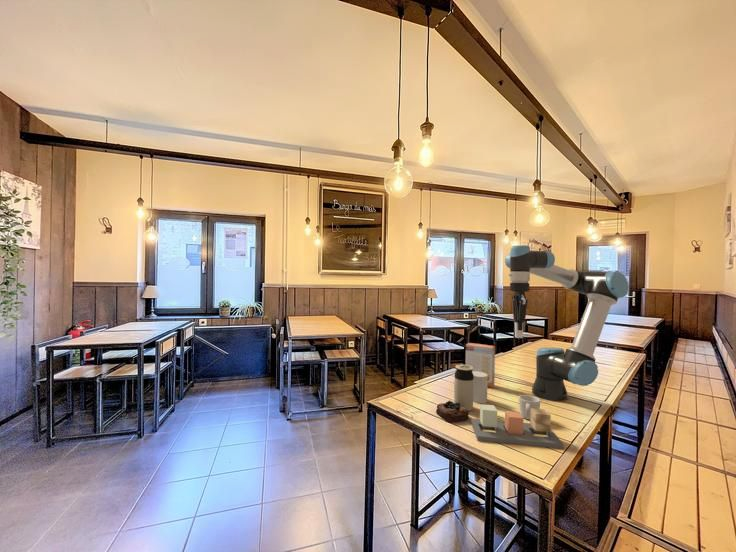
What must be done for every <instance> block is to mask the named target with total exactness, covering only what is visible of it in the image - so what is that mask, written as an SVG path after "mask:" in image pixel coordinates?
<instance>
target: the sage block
mask: <svg viewBox="0 0 736 552" xmlns="http://www.w3.org/2000/svg"><path fill="white" fill-rule="evenodd" d="M479 404H480V405H479V419H480V422H481V424H482V426H486V427H497V421H498V410H497V407H495V405H494V404H483V403H479Z"/></svg>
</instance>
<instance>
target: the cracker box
mask: <svg viewBox="0 0 736 552" xmlns="http://www.w3.org/2000/svg"><path fill="white" fill-rule="evenodd" d="M495 356H496V346H494V345H488V344H481V343H474V342H468V343H466V344H465V365H469V366H472V367H473V370H472V372H473V371H478V372H483V373H486V374H487V375H488V379H487V388H493V387H494V386H495V378H496V377H495V369H496V366H495V364H496V363H495V361H496V360H495V359H496V357H495Z"/></svg>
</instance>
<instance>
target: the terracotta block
mask: <svg viewBox="0 0 736 552" xmlns="http://www.w3.org/2000/svg"><path fill="white" fill-rule="evenodd" d="M524 419H525V418H523V417H522V415H521V414H520V411H511V410H510V411H507V410H505V411H504V421H505V428H506V432H507V433H508V434H520V435H523V423H524Z"/></svg>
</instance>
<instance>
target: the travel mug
mask: <svg viewBox="0 0 736 552" xmlns="http://www.w3.org/2000/svg"><path fill="white" fill-rule="evenodd" d="M472 370H473V367H472V366H469V365H466V364H455V371H454V381H453V382H454V383H453V384H454V385H453V387H454V388H453V389H454V391H453V392H454V393H453V403H454V402H456V403H457V402H459V403H460V406H462V407H463V408H466V409H468V412H469V411H472V410H473V409H474V402H473V383H474V375H473V373H472Z"/></svg>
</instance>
